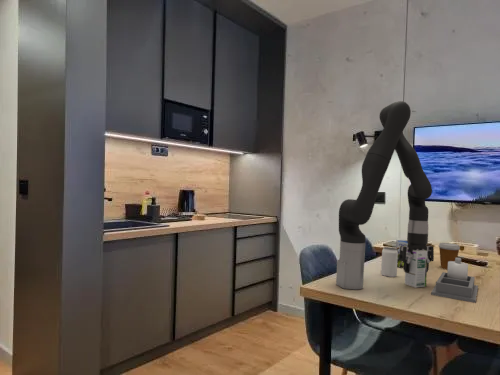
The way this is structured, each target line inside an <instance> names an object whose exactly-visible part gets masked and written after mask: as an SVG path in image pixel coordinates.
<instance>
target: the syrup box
mask: <svg viewBox="0 0 500 375" xmlns="http://www.w3.org/2000/svg"><path fill="white" fill-rule="evenodd" d="M407 253H408V255H409V256H411V255H412V254H411V253H410V251H409V252H408V250H407V252H406V254H407ZM413 253H414V258H413V259H412V260H411V261H410V262H409V264H410V268H409V273H406V272H404V284H405V286H410V287H412V288H414V289H415V288H423V287H424V288H425V287H427V278H428V277H427V276H428V275H427V273H428V272H427V250H413Z"/></svg>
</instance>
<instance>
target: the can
mask: <svg viewBox="0 0 500 375" xmlns="http://www.w3.org/2000/svg"><path fill="white" fill-rule="evenodd" d="M397 259H398V252H397V249H396V247H390V246H384V247H383V249H382V251H381V264H380V266H381V267H380V274H381V276H383V277H387V278H396V277H397V276H398V263H397Z"/></svg>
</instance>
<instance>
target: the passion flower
mask: <svg viewBox="0 0 500 375" xmlns="http://www.w3.org/2000/svg"><path fill="white" fill-rule="evenodd" d="M395 248H396V247H395ZM396 249H397V250H398V249H399V247H397V248H396ZM397 252H398V259H397V268H399V269H400V268H401V267H402V268H404V262H402V261H400V260H399V255H400V251H397Z"/></svg>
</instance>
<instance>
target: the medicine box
mask: <svg viewBox="0 0 500 375" xmlns="http://www.w3.org/2000/svg"><path fill="white" fill-rule="evenodd" d="M395 243H396V244H395V248H397V247H399V249H398V250H397V251H400V246H405V247H407V246H408V242H407V240H406V239H396V242H395Z"/></svg>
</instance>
